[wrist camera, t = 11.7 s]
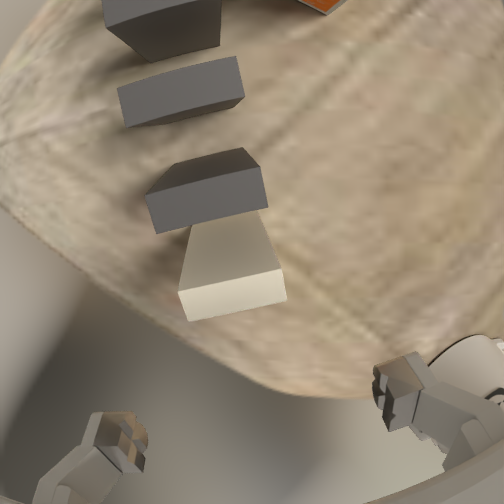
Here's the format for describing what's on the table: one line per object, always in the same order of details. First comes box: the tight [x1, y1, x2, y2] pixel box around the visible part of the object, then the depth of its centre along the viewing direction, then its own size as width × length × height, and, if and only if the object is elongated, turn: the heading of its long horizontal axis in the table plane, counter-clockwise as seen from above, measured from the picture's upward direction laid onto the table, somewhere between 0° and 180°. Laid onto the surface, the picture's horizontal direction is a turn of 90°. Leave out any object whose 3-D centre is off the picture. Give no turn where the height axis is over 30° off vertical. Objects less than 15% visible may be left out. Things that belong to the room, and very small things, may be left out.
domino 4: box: [178, 210, 287, 322], centre depth 20 cm, size 2×5×10 cm, turn 101°
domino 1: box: [102, 0, 222, 63], centre depth 14 cm, size 2×5×10 cm, turn 102°
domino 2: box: [117, 56, 245, 128], centre depth 16 cm, size 2×5×10 cm, turn 102°
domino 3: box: [144, 147, 268, 234], centre depth 18 cm, size 2×5×10 cm, turn 102°
